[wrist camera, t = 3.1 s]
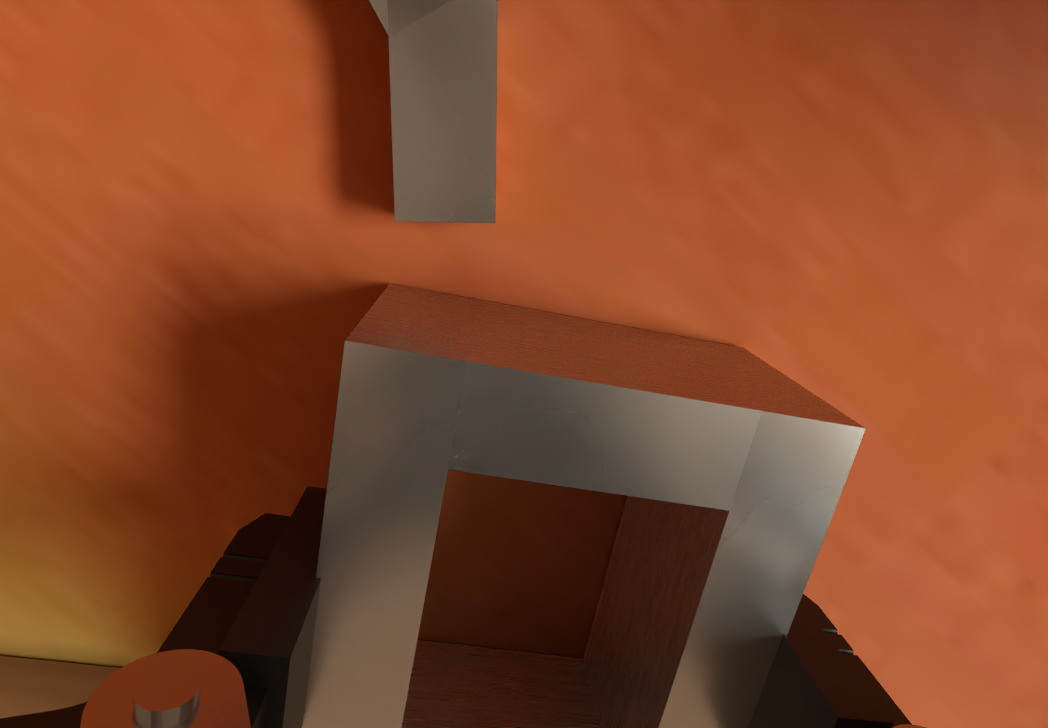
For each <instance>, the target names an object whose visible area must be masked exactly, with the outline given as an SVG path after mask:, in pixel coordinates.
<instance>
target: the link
mask: <svg viewBox="0 0 1048 728" xmlns="http://www.w3.org/2000/svg"><path fill="white" fill-rule="evenodd" d="M865 429H866V428H864V427H863V426H861V425H860V424H858V423H857V422H855V421H854V420H852V419H851V418H849V417H848V416H846V415H845V414H843V413H842V412H840V411H839V410H837V409H836V408H834V407H833V406H831V405H830V404H828V403H826V402H825V401H823V400H822V399H820V398H819V397H817V396H816V395H814V394H813V393H811V392H810V391H808V390H807V389H805V388H804V387H802V386H801V385H799V384H798V383H796V382H795V381H793V380H792V379H790V378H789V377H787V376H786V375H784V374H783V373H781V372H780V371H778V370H777V369H775V368H773V367H772V366H770V365H769V364H767V363H766V362H764V361H763V360H761V359H760V358H758V357H757V356H755V355H754V354H752V353H751V352H749V351H748V350H746V349H745V348H742V347H737V346H731V345H726V344H720V343H715V342H709V341H704V340H698V339H693V338H687V337H682V336H676V335H671V334H665V333H660V332H654V331H649V330H643V329H638V328H632V327H627V326H621V325H616V324H610V323H605V322H599V321H594V320H588V319H583V318H577V317H572V316H566V315H561V314H555V313H550V312H544V311H539V310H533V309H528V308H522V307H517V306H511V305H506V304H500V303H495V302H489V301H484V300H478V299H473V298H467V297H462V296H456V295H451V294H445V293H440V292H434V291H428V290H423V289H417V288H412V287H406V286H401V285H395V284H389V285H388V286H387V288H386V289H385V290H384V291H383V293H382V294H381V295H380V296H379V298H378V299H377V300H376V302H375V303H374V304H373V305H372V307H371V308H370V309H369V310H368V312H367V313H366V314H365V316H364V317H363V318H362V319H361V321H360V322H359V323H358V325H357V326H356V327H355V328H354V330H353V331H352V332H351V333H350V335H349V336H348V337H347V339H346V340H345V344H344V353H343V361H342V369H341V377H340V385H339V394H338V402H337V410H336V418H335V426H334V435H333V443H332V451H331V459H330V467H329V476H328V484H327V492H326V500H325V508H324V517H323V525H322V533H321V541H320V549H319V558H318V566H317V574H316V578H321V582H320V590H319V598H318V606H317V614H316V622H315V630H314V638H313V646H312V654H311V662H310V670H309V678H308V686H307V694H306V702H305V710H304V718H303V725H302V728H748V727H749V724H750V721H751V719H752V716H753V713H754V711H755V708H756V705H757V703H758V700H759V697H760V695H761V692H762V690H763V687H764V684H765V682H766V679H767V676H768V674H769V671H770V668H771V666H772V663H773V660H774V658H775V655H776V652H777V650H778V647H779V645H780V642H781V639H782V637H783V634H784V635H787V634H788V632H789V629H790V626H791V624H792V621H793V618H794V616H795V613H796V611H797V608H798V605H799V603H800V600H801V597H802V595H803V592H804V590H805V587H806V584H807V582H808V579H809V576H810V574H811V571H812V568H813V566H814V563H815V561H816V558H817V555H818V553H819V550H820V547H821V545H822V542H823V540H824V537H825V534H826V532H827V529H828V526H829V524H830V521H831V518H832V516H833V513H834V511H835V508H836V505H837V503H838V500H839V497H840V495H841V492H842V490H843V487H844V484H845V482H846V479H847V476H848V474H849V471H850V468H851V466H852V463H853V461H854V458H855V455H856V453H857V450H858V447H859V445H860V442H861V440H862V437H863V434H864V432H865ZM448 470H455V471H462V472H469V473H475V474H482V475H489V476H496V477H503V478H510V479H516V480H523V481H530V482H537V483H544V484H551V485H557V486H564V487H571V488H578V489H585V490H592V491H598V492H605V493H612V494H619V495H626V496H627V498H626V502H625V506H624V509H623V513H622V517H621V520H620V524H619V528H618V531H617V535H616V539H615V542H614V546H613V550H612V553H611V557H610V561H609V564H608V568H607V572H606V575H605V579H604V582H603V586H602V590H601V593H600V597H599V601H598V604H597V608H596V612H595V615H594V619H593V623H592V626H591V630H590V634H589V637H588V641H587V645H586V648H585V652H584V656H583V658H575V657H566V656H557V655H548V654H539V653H530V652H521V651H512V650H503V649H494V648H485V647H476V646H467V645H458V644H449V643H440V642H431V641H422V640H417V639H418V633H419V628H420V622H421V617H422V611H423V606H424V600H425V595H426V589H427V584H428V578H429V573H430V567H431V561H432V556H433V550H434V545H435V539H436V534H437V528H438V523H439V517H440V512H441V506H442V501H443V495H444V490H445V484H446V479H447V473H448Z"/></svg>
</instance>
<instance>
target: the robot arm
mask: <svg viewBox="0 0 1048 728" xmlns="http://www.w3.org/2000/svg"><path fill="white" fill-rule="evenodd" d="M326 492H327V489H325V488H318V487H311V486H309V487H307V488H306V490H305V492H304V494H303V495H302V497H301V499H300V501H299V503H298V505H297V507H296V508H295V510H294V512H293V514H292V516H291V517H290V516H282V515H275V514H267V513H265V514H264V515H262V516H261V517H259V518H257V519H256V520H254V521H253V522H251V523H249V524H248V525H246V526H245V527H243V528H242V529H240V530H239V531H238V532H237V534H236V535H235V537H234V538H233V540H232V541H231V543H230V544H229V546H228V547H227V549H226V550H225V552H224V555H223V558H222V557H221V558H220V559H219V561H218V562H217V564H216V565H215V567H214V568H213V570H212V571H211V575H210V577H207V579H206V580H205V582H204V583H203V585H202V586H201V588H200V589H199V591H198V592H197V594H196V595H195V597H194V598H193V600H192V601H191V603H190V604H189V606H188V607H187V609H186V610H185V612H184V613H183V615H182V616H181V618H180V619H179V621H178V622H177V624H176V625H175V627H174V628H173V630H172V631H171V633H170V634H169V636H168V637H167V639H166V640H165V642H164V643H163V645H162V646H161V648H160V649H159V651H158V652H157V653H156V654H152V655H149V656H146V657H144V658H141V659H138V660H136V661H134V662H132V663H130V664H128V665H126V666H124V667H123V668H121V669H119V670H118V671H116V672H115V673H113V674H112V675H111V676H110V677H108V678H107V679H106V680H105V681H104V682H103V683H102V684H101V685H100V686H99V687H98V688H97V689H96V690H95V691H94V693H93V694H92V695H91V697H90V698H89V700H88V701H87V702H85V703H81V704H78V705H74V706H71V707H67V708H62V709H57V710H52V711H46V712H39V713H33V714H26V715H20V716H13V717H7V718H0V728H302V725H303V718H304V710H305V702H306V694H307V686H308V678H309V670H310V662H311V654H312V646H313V638H314V630H315V622H316V614H317V606H318V598H319V590H320V582H321V578H316V574H317V566H318V558H319V549H320V541H321V533H322V525H323V517H324V508H325V500H326ZM748 728H926V727H922V726H918V725H912V724H911V723H910V722H909V720H908V719H907V718H906V716H905V715H904V714H903V713H902V711H901V710H900V709H899V708H898V706H897V705H896V704H895V703H894V701H893V700H892V699H891V697H890V696H889V695H888V694H887V692H886V691H885V690H884V689H883V687H882V686H881V685H880V683H879V682H878V681H877V680H876V678H875V677H874V676H873V675H872V673H871V672H870V671H869V670H868V668H867V667H866V666H865V664H864V663H863V662H862V661H861V659H860V658H859V657H858V656H857V655H853V649H852V648H851V647H850V645H849V644H848V643H847V642H846V640H845V639H844V638H843V637H842V635H838V634H837V629H836V628H835V626H834V625H833V624H832V623H831V621H830V620H829V619H828V617H827V616H826V615H825V614H824V612H823V611H822V610H821V609H820V607H819V606H818V605H817V604H815V603H814V602H813V601H812V600H810V599H809V598H808V597H807V596H805V595H804V594H803V595H802V597H801V600H800V603H799V605H798V608H797V611H796V613H795V616H794V618H793V621H792V624H791V626H790V629H789V632H788V634H787V635H784V634H783V637H782V639H781V642H780V645H779V647H778V650H777V652H776V655H775V658H774V660H773V663H772V666H771V668H770V671H769V674H768V676H767V679H766V682H765V684H764V687H763V690H762V692H761V695H760V697H759V700H758V703H757V705H756V708H755V711H754V713H753V716H752V719H751V721H750V724H749V727H748Z"/></svg>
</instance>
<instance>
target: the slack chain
mask: <svg viewBox="0 0 1048 728" xmlns="http://www.w3.org/2000/svg"><path fill="white" fill-rule="evenodd" d="M369 1H370V3H371V5H372V7H373V9H374V10H375V12H376V14H377V16H378V18H379V20H380V21H381V23H382V25H383V27H384V29H385V30H386V32H387V34H388V36H389V66H390V95H391V124H392V154H393V183H394V213H395V221H416V222H467V223H495V200H496V105H497V11H498V0H369Z"/></svg>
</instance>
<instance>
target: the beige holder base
mask: <svg viewBox="0 0 1048 728" xmlns="http://www.w3.org/2000/svg"><path fill="white" fill-rule="evenodd" d="M119 669H121V668H115V667H105V666H95V665H86V664H76V663H66V662H56V661H46V660H37V659H27V658H17V657H7V656H0V718H7V717H13V716H20V715H26V714H33V713H39V712H46V711H52V710H57V709H62V708H67V707H71V706H74V705H78V704H81V703H85V702H87V701H88V700H89V698H90V697H91V695H92V694H93V693H94V691H95V690H96V689H97V688H98V687H99V686H100V685H101V684H102V683H103V682H104V681H105V680H106V679H107V678H108V677H110V676H111V675H112V674H113V673H115V672H116V671H118V670H119Z"/></svg>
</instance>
